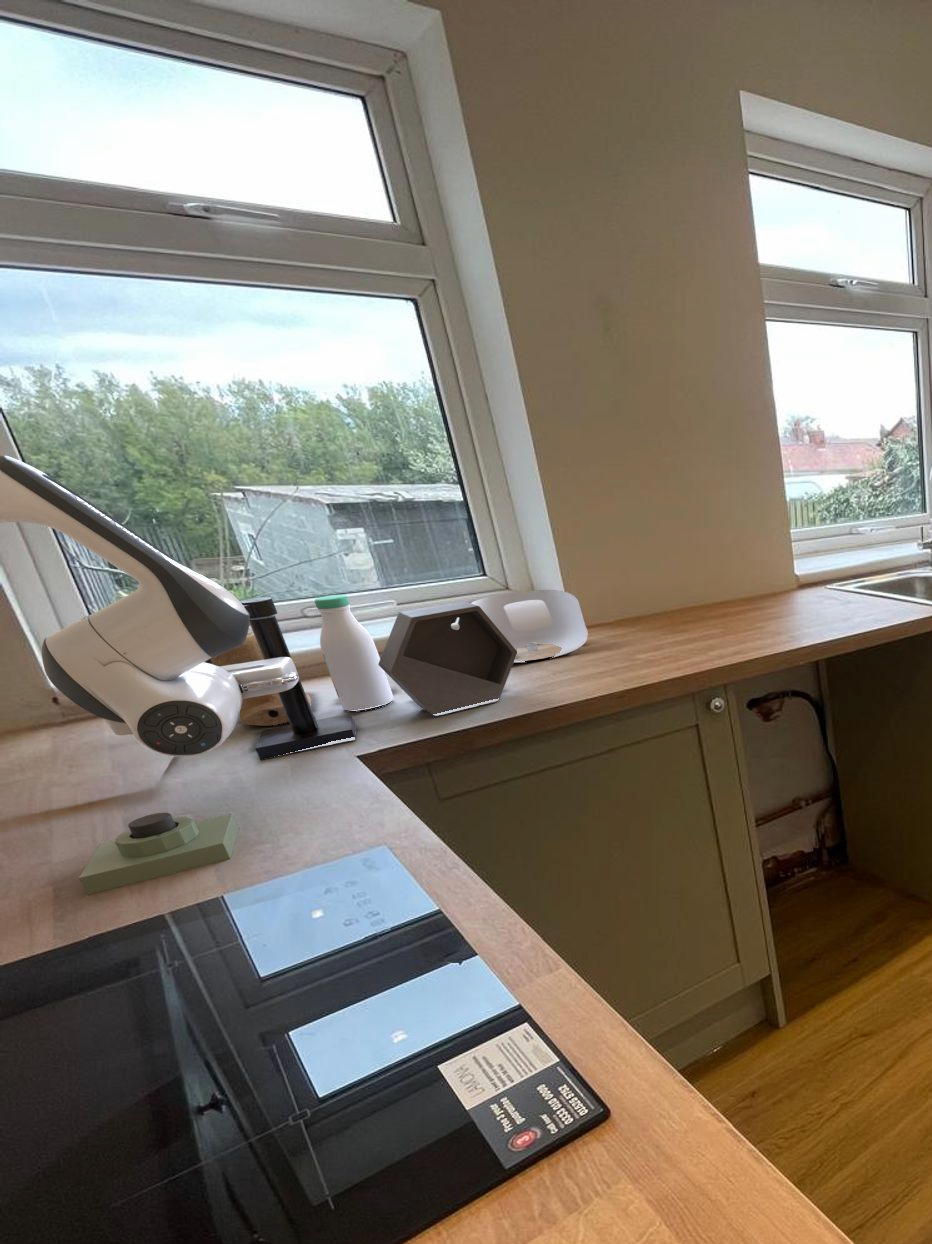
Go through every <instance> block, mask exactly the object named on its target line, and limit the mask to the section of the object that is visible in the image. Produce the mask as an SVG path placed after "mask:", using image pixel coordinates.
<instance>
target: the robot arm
mask: <svg viewBox="0 0 932 1244" xmlns="http://www.w3.org/2000/svg"><path fill="white" fill-rule="evenodd" d="M4 523H5V524H6V523H30V524H37V525H41V526H45V527H48V528H51V529H54V530H55V531H58V532H60V533H62V534H64V535H66V536H67V537H68V538H70V539H72V540H73V541H75V542H76V543H78V544H80V545H81V546H83V547H84V548H85V549H87V550H89V551H90V552H92V553H93V554H95V555H97V556H99V557H100V558H101V559H103V560H104V561H106V562H107V563H109V564H111V565H112V566H114V567H115V568H117V569H119V570H120V571H122V572H123V573H125V574H126V575H128V576H130V577H131V578H133V579H134V580H136V582H138V587H137V589H135V590H134V591H133V592H131V593H129V594H127V595H125V596H124V597H122V598H120V599H118V600H116V601H114V602H112V603H111V604H108V605H107V606H105V607H103V608H101V609H99V610H97V611H95V612H93V613H92V614H88V615H86V616H84V617H83V618H81V619H79V620H76V621H74V622H73V623H71V624H69V625H67V626H65V627H63V628H61V629H60V630H58V631H56V632H55V633H53V634H51V635H50V636H48V637H45V638H44V639H43V641H42V645H41V660H42V665H43V669H44V673H45V674H46V675H45V676H47V678H48V680H49V682H51V684H52V685H53V686H54V687H55V689H57V690H58V691H59V692H60V693H62V694H63V695H64V696H65V697H66V698H67V699H69V700H70V701H71V702H73V703H74V704H75V705H77V706H78V707H80V708H81V709H83V710H85V711H86V712H89V713H90V714H92V715H94V716H96V717H98V718H101V719H104V721H105V723H106V724H107V725H108V726H109V727H110V729H111V730H112V732H113V733H114V734H115V735H117V736H129V735H133V736H134V737H135V738H136V740H137V741H139V742H140V743H141V744H142V745H144V746H145V747H147V748H148V749H149V750H152V751H154V752H155V753H159V754H162V755H166V756H171V757H194V756H198V755H202V754H206V753H208V752H210V751H213V750H214V749H216V748H218V747H220V746H221V745H222V744H223V743H224V742H225V741H226V740H227V739H228V738H229V737H230V735H231V734H232V732H233V731H234V729H235V728H236V725H237V722H238V717H239V715H240V714H239V712H240V709H241V705H242V702H243V699H245V698H251V697H257V696H262V695H268V694H274V693H279V692H283V691H286V690H289V689H291V688H293V687H294V686H295V685H296V684H297V682H298V681H299V678H300V676H299V673H298V670H297V667H296V665H295V662H294V660H293V658H292V657H291V658H292V659H291V658H290V657H278V658H272V659H266V660H259V661H253V662H246V663H240V664H233V665H226V666H220V667H218V666H216V665H213V664H209V663H204V662H205V661H207V660H208V659H210V658H214V657H217V656H219V655H221V654H223V653H225V652H227V651H230V650H232V649H234V648H236V647H238V646H240V645H242V644H244V641H245V639H246V637H247V634H248V633H249V629H250V615H249V613H248V611H247V610H246V609H245V608H244V606H243V605H242V603H241V602H240V601H241V600H239V599H238V598H237V597H236V596H235V595H234V594H233V593H232V592H230V591H229V590H228V589H226V588H225V587H223V586H222V585H220V584H219V583H217V582H216V581H213V580H211V579H209V578H207V577H206V576H204V575H202V574H199V573H198V572H196V571H195V570H193V569H191V568H190V567H189V566H187V565H186V564H183V563H182V562H180V561H179V560H177V559H175V558H174V557H172V556H171V555H169V554H168V553H166V552H164V551H163V550H162V549H161V548H159V547H157V546H156V545H154V544H153V543H151V542H150V541H149V540H147V539H145V538H144V537H143V536H141V535H140V534H138V533H136V532H135V531H134V530H132V529H131V528H129V527H128V526H126V525H124V524H123V523H121V522H120V521H119V520H117V519H115V518H114V517H113V516H111V515H110V514H108V513H107V512H105V511H104V510H103V509H101V508H99V507H98V506H96V505H95V504H93V503H92V502H90V501H89V500H87V499H85V498H84V497H83V496H81V495H79V494H78V493H77V492H75V491H74V490H72V489H70V488H69V487H67V486H66V485H64V484H62V483H61V482H60V481H57V480H56V479H54V478H53V477H51V476H49V475H47V474H46V473H45V472H43V471H41V470H39V469H38V468H35V467H34V466H32V465H30V464H28V463H26V462H23V461H21V460H19V459H17V458H14V457H11V456H9V455H0V524H4Z"/></svg>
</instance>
